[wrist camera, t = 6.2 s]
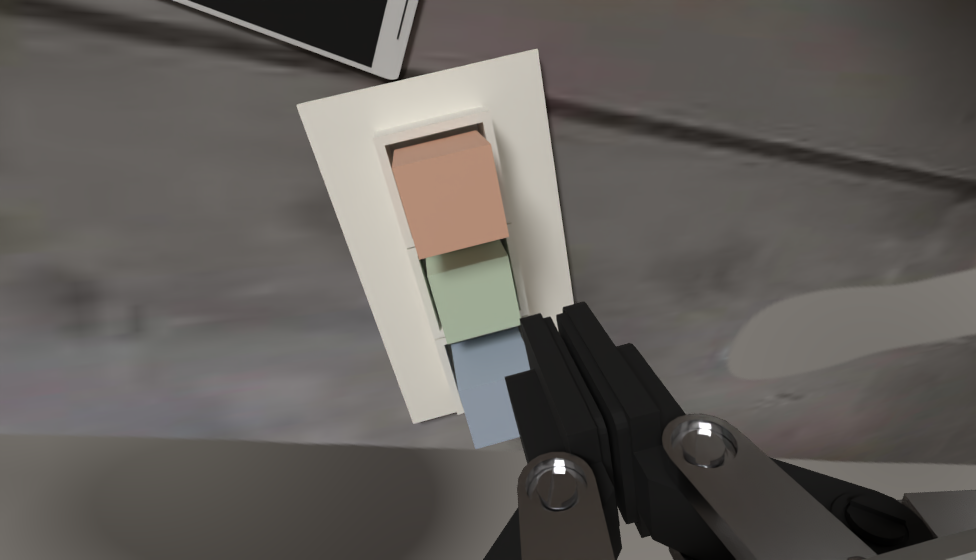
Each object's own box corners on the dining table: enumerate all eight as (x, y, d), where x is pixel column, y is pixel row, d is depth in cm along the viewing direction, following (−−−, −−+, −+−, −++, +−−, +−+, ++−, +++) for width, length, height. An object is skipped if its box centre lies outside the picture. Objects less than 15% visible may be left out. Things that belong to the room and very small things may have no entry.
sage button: (493, 227, 30) (507, 255, 26) (506, 288, 32) (522, 324, 28) (424, 244, 30) (427, 276, 26) (441, 305, 32) (447, 344, 28)
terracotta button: (475, 130, 26) (490, 143, 21) (492, 209, 28) (509, 236, 23) (394, 149, 25) (391, 168, 21) (417, 227, 27) (419, 259, 23)
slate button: (517, 326, 31) (535, 370, 27) (528, 380, 33) (547, 429, 29) (450, 344, 31) (458, 391, 27) (466, 397, 33) (475, 449, 29)
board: (533, 49, 28) (552, 47, 24) (580, 369, 38) (598, 401, 35) (299, 103, 27) (283, 109, 23) (413, 415, 37) (413, 452, 34)
